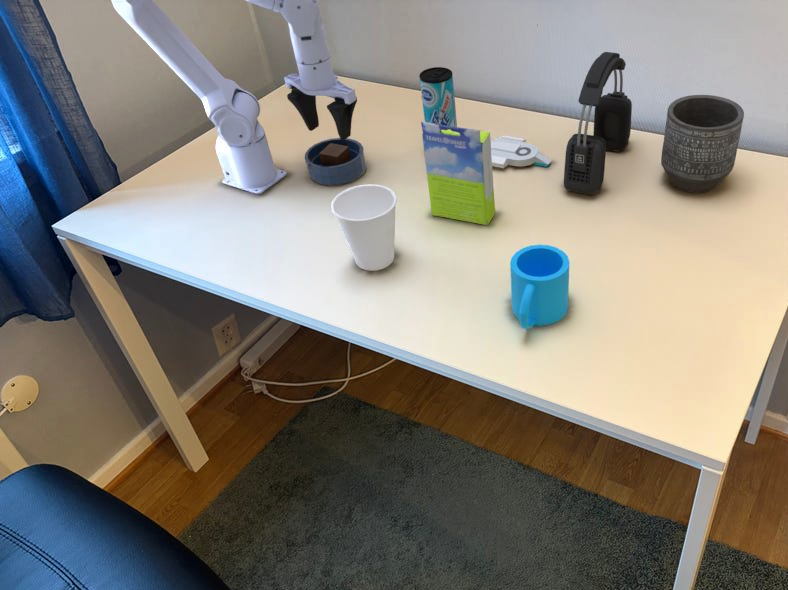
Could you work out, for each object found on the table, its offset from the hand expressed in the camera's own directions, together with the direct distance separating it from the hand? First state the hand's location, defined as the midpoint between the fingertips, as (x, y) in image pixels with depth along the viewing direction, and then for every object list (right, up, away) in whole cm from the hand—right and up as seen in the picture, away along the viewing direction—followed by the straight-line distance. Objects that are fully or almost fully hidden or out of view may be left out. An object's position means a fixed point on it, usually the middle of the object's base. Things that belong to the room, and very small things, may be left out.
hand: (329, 132), depth 132 cm
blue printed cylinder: (+20, -1, +9) cm, 22 cm away
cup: (+10, -25, -15) cm, 31 cm away
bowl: (+1, -6, +6) cm, 8 cm away
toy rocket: (+33, -3, +5) cm, 33 cm away
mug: (+35, -35, -26) cm, 56 cm away
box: (+24, -16, -7) cm, 30 cm away
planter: (+65, -10, -4) cm, 65 cm away
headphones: (+49, -6, +1) cm, 49 cm away
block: (+1, -5, +5) cm, 7 cm away
